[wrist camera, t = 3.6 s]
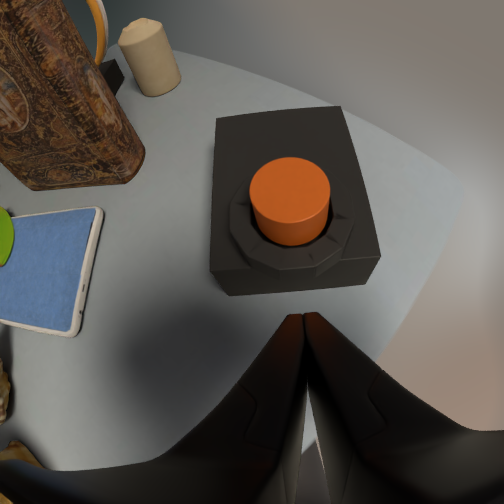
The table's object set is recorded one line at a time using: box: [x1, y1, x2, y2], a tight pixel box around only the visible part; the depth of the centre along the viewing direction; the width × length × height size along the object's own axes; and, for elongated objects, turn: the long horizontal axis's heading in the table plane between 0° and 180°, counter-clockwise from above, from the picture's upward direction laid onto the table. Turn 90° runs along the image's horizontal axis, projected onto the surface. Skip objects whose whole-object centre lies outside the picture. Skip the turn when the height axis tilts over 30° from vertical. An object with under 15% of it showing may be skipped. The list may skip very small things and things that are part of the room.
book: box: [0, 0, 145, 191], centre depth 20 cm, size 16×6×25 cm, turn 83°
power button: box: [249, 157, 330, 246], centre depth 16 cm, size 4×4×2 cm
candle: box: [118, 18, 181, 97], centre depth 31 cm, size 6×6×10 cm
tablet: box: [0, 206, 103, 338], centre depth 26 cm, size 19×13×1 cm, turn 87°
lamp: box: [86, 0, 124, 95], centre depth 23 cm, size 17×9×32 cm, turn 87°
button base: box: [210, 106, 381, 296], centre depth 22 cm, size 14×10×7 cm
